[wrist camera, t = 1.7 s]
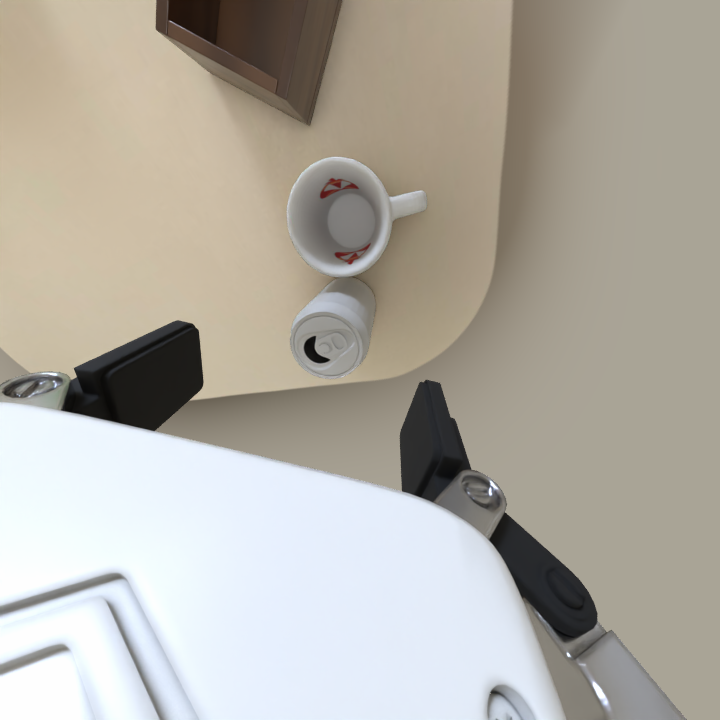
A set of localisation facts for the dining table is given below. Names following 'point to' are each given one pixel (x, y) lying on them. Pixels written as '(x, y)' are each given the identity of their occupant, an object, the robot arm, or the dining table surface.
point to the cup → (344, 216)
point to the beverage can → (334, 329)
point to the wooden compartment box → (257, 45)
